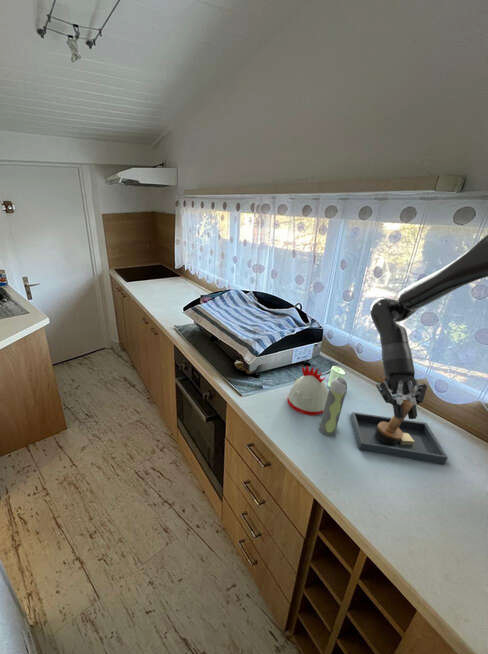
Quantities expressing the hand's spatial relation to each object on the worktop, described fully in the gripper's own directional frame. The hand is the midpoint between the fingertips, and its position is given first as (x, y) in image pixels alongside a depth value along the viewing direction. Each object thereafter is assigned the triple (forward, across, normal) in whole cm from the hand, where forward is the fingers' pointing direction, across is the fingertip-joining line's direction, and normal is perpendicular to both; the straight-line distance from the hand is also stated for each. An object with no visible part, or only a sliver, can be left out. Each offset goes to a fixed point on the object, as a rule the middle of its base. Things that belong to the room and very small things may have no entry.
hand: (406, 418), depth 87 cm
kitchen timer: (-6, -20, +22) cm, 31 cm away
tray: (+6, +1, +9) cm, 11 cm away
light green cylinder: (-14, -6, +30) cm, 34 cm away
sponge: (-26, -37, +43) cm, 62 cm away
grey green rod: (+4, -18, +12) cm, 22 cm away
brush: (+5, -1, +9) cm, 10 cm away
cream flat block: (+6, +4, +8) cm, 11 cm away
